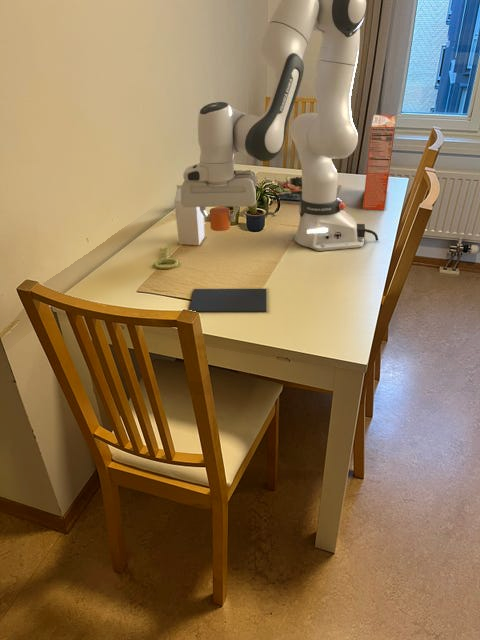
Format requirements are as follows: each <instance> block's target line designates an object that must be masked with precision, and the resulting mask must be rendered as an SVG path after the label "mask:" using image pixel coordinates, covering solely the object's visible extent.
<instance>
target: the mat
mask: <svg viewBox="0 0 480 640" xmlns="http://www.w3.org/2000/svg"><path fill="white" fill-rule="evenodd" d="M189 305H190V306H189V309H188V311H189V310H192V311H196V312H195V313H267V288H194V289H193V293H192V297H191V301H190V304H189Z"/></svg>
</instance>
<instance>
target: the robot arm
mask: <svg viewBox="0 0 480 640" xmlns="http://www.w3.org/2000/svg"><path fill="white" fill-rule="evenodd" d="M367 10H368V0H280V1H279V3H278V4H277V6H276V8H275V10H274V12H273V14H272V16H271V17H270V20H269V21H268V24H267V26H266V28H265V30H264V33H263V36H262V37H261V38H262V39H261V42H260V43H261V44H260V47H259V49H260V54H261V55H260V56H261V58H262V61H263V63H264V64H265V65H266V67H268V69H270V71H272V72H273V73H274V76H275V82H274V86H273V90H272V93H271V95H270V99H269V102H268V105H267V108H266V110H265V112H264V113H263V114H262V115H261V116H258V115H254V114H250V113H245V112H244V111H243V112H242V111H240V110H238V109H235V108H234V107H232V106H230V104H229V103H228V102H225V101H216V102H211V103H208V104H205V105H203V107H202V108H200V110H199V113H198V116H197V142H198V145H199V149H200V154H199V162H197V163H195V164H193V165H190V166H187V167H186V168H185V170H184V172H183V182H182V184H181V185H182V187H181V204H182V205H183V206H184V207H200V211H201V213H202V214H203V217H204V223H210V213H208V212H207V210H206V209H207V208H214V207H227V208H229V207H232V208H233V212H232V213H230V216H229V217H230V223H235V222H236V216H237V214H238V213H239V210H240V207H254V206H255V205H256V204H257V201H256V188H257V186H258V175H257V174H256V172H254V171H252V170H250V169H247V170H242V169H240V170H239V169H238V170H236V169H235V154H236V153H240V154H243V155H246V156H250V157H252V158H254V159H255V160H258V161H260V162H269V161H272V160H273V159H275V158H276V157H277V156H278V155H279V154H280V152H281V151H282V150H283V147H284V144H285V140H286V134H287V129H288V128H287V127H288V124H289V120H290V117H291V115H292V111H293V109H294V105H295V103H296V99H297V96H298V94H299V91H300V87H301V84H302V80H303V77H304V70H305V66H304V64H305V63H304V61H303V59H304V56H305V51H306V49H307V47H308V44H309V42H310V41H311V38H312V35H313V32H314V31H315V32H321V37H322V38H321V39H322V40H321V44H320V46H319V51H318V56H317V61H316V66H315V71H314V76H313V77H314V78H313V83H312V94H313V96H314V98H315V101H316V105H317V112H306V113H301V114H299V115H297V116H296V117H295V118H294V119H293V121H292V122H291V125H290V131H289V132H290V133H289V134H290V138H291V140H292V141H293V143H294V145H295V147H296V151H297V154H298V158H299V163H300V168H301V169H300V170H301V177H302V197H301V198H300V204H299V222H298V228H297V232H296V235H295V238H294V240H295V242H296V243H297V244H299V245H300V246H303V247H307V248H309V249H310V248H311V249H312V250H314V251H317V252H322V251H323V252H324V251H335V250H345V249H356V248H357V249H358V248H362V247H363V246H364V244H365V235H366V233H367V234H368V233H369V234H372V235H373V236H374V239H375V242H377V241H379V236H378V234H377V233H376V232H375V231H373V230H371V229H367V228H366V224H365V223H357V221H356V220H355V218H354V217H353V216H351V215H350V214H349V213H348V212H346V211H344V210H345V209H346V206H347V205H346V204H345V202H343V200H342V199H341V198H340V197H337V196H338V190H337V186H339V185H338V184H339V174H338V170H337V169H336V167H335V165H334V162H333V159H335V160H336V159H337V160H342V159H347V158H348V157H350V156H351V155H352V154H353V153H354V151H355V150H356V149H357V146H358V143H359V134H358V130H357V129H356V127H355V124H354V122H353V118H352V108H351V98H352V97H351V96H352V89H353V85H354V78H355V73H356V70H357V64H358V59H359V53H360V41H361V29H360V26H361V25H362V23H363V21H364V20H365V17H366V14H367Z"/></svg>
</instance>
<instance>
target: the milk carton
mask: <svg viewBox="0 0 480 640" xmlns="http://www.w3.org/2000/svg"><path fill="white" fill-rule="evenodd" d="M181 187H182V184H176V190H175V196H174V209H175V219H176V226H177V227H176V230H177V241H178V245H189V246H190V245H191V246H200V245H201V244H202V242H203V240H204V239H205V236H206V235H205V220H204V216H203V214H202V213H201V211H200V207H184V206H183V205H182V204H181Z"/></svg>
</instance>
